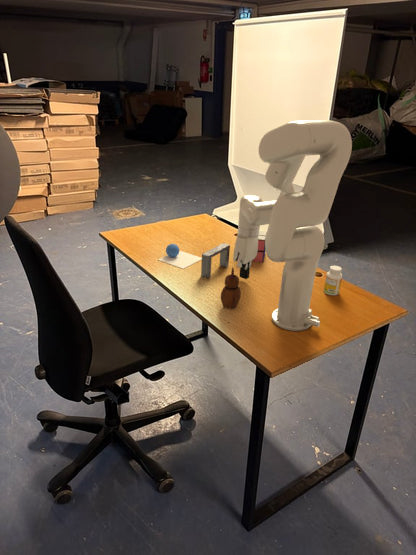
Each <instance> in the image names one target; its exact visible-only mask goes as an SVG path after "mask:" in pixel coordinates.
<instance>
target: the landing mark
mask: <svg viewBox="0 0 416 555" xmlns="http://www.w3.org/2000/svg"><path fill="white" fill-rule="evenodd" d="M158 261H159V262H161V263H165V264H167V265H171V266H174V267H177V268H180V269H183V270H185V269H186V268H189V267H190V266H192V265H195V264H196V263H197V262H199V261H202V256H201V257H200V256H197V255H194V254H191V253H188V252H186V251H183V250H179V254H178V255H177V256H176V257H170V256H168V255H167V254H166V255H165V256H162V257H161V258H159V259H158Z"/></svg>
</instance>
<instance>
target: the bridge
mask: <svg viewBox="0 0 416 555" xmlns="http://www.w3.org/2000/svg"><path fill="white" fill-rule="evenodd" d="M230 249H231V244H229V243H225V242H223V243H221V244H219V245H217V246H215V247H212V248H210V249H209V250H207V251H205V252H202V254H201V258H202V260H201V265H200V266H201V267H200V268H201V270H200V271H201V272H200V277H202V278H204V279H208V280H209V278H211V275H212V274H211V273H212V259H213V257H215V256H217V255H219V267H222V268H225V269H226V268H229V264H230V251H231V250H230Z"/></svg>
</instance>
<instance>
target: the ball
mask: <svg viewBox="0 0 416 555" xmlns="http://www.w3.org/2000/svg"><path fill="white" fill-rule="evenodd" d="M179 251H180V248H179V246H178V245H177V244H175V243H171V244H168V245H167V246H166V249H165V252H166V253H165V254H166V256H167V255H168V256H170V257H176V256H177V255H178V254H179Z"/></svg>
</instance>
